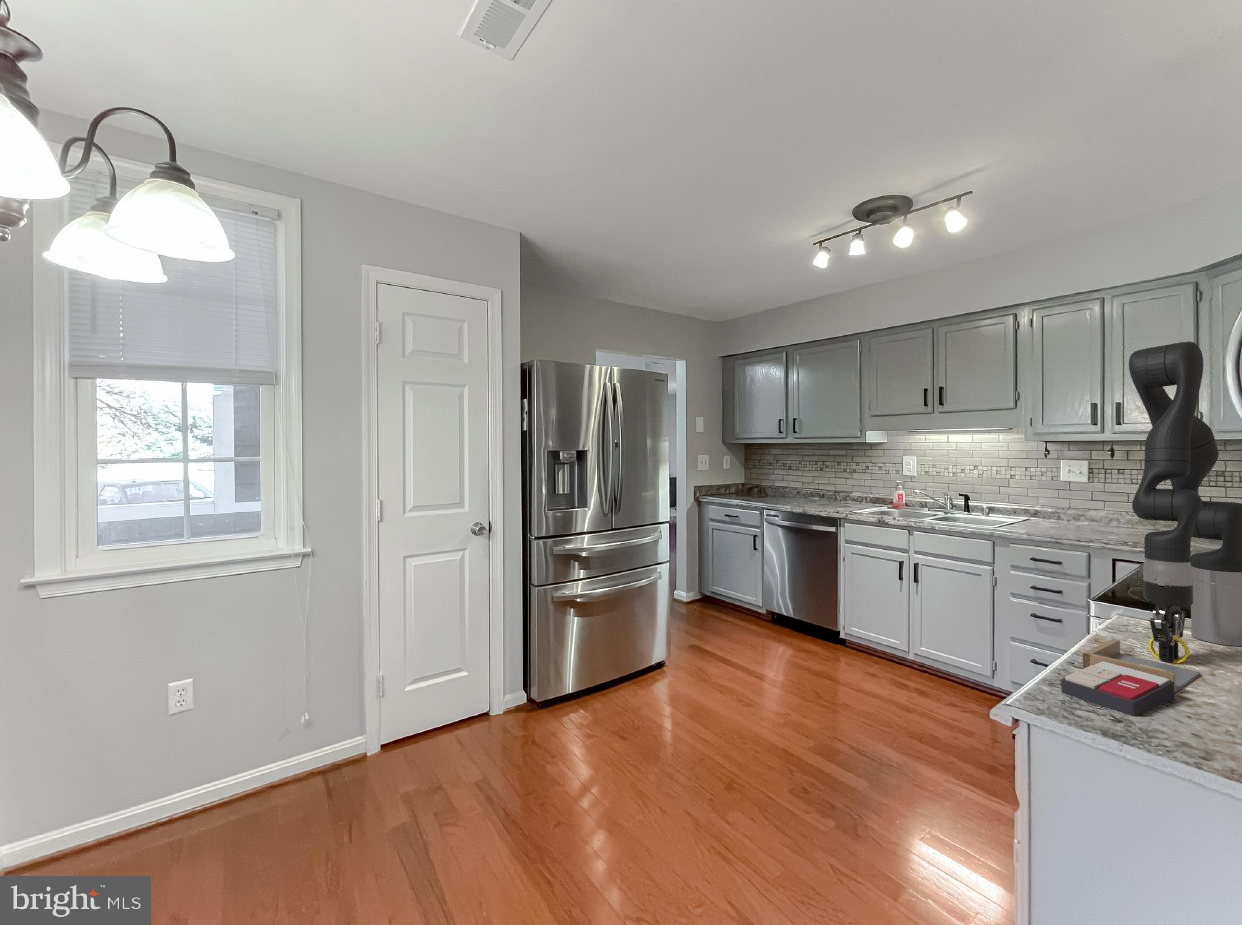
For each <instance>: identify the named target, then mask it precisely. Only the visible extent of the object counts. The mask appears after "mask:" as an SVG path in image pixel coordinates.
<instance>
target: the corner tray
mask: <svg viewBox="0 0 1242 925" xmlns="http://www.w3.org/2000/svg"><path fill="white" fill-rule="evenodd" d="M1102 661H1104V662H1108V663H1111V664H1115V665H1119V666H1123V667H1126V668H1130V669H1134V670H1138V671H1141V672H1145V673H1149V674H1152V675H1156V676H1160V677H1164V678H1167V679H1169V680H1171V681H1173V682H1174V694H1176V693H1177V692H1178V691H1180V690H1181V689H1183V688H1184V687H1186V685H1188V684H1190V683H1191V682H1192V681H1194V680H1195V679H1197V678H1198V677H1200V676H1201V672H1200V671H1198V670H1193V669H1190V668H1189V669H1188V668H1184V667H1180V666H1175V665H1172V664H1169V663H1167V664H1166V663H1162V662H1157V661H1155V660H1149V659H1145V658H1142V657H1138V656H1137V657H1136V656H1131V655H1128V654H1123V653H1121V640H1120V639H1117V638H1111V639H1109V640H1107V641H1105V642H1103V643H1101V644H1098V645H1096V646H1095V647H1092V648H1090V649H1088V650H1085V651H1083V652H1082V669H1084V668H1086V667H1089V666H1091V665H1095V664H1097V663H1100V662H1102Z"/></svg>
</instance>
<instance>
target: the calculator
mask: <svg viewBox="0 0 1242 925" xmlns="http://www.w3.org/2000/svg"><path fill="white" fill-rule="evenodd" d="M1060 683H1061V684H1060V685H1061V693H1062V694H1064V695H1068V696H1070V697H1074V698H1077V699H1079V700H1083V701H1086V702H1087V703H1088V702H1089V703H1091V704H1094V705H1098V706H1100V707H1104V708H1107V709H1109V710H1113V711H1116V712H1119V713H1122V714H1125V715H1128V716H1131V717H1138V716H1140V715H1143V714H1145V713H1147V712H1150V711H1151V710H1153V709H1154V708H1157V707H1159V706H1161V705H1164V704H1167V703H1171V702H1172V701H1173V700H1175V693H1174V682H1173V681H1171V680H1169V679H1167V678H1164V677H1160V676H1156V675H1152V674H1149V673H1145V672H1141V671H1138V670H1134V669H1130V668H1126V667H1123V666H1119V665H1115V664H1111V663H1108V662H1104V661H1102V662H1100V663H1097V664H1095V665H1091V666H1089V667H1086V668H1084V669H1083V668H1082V669H1080V670H1078V671H1074V672H1072V673H1070V674H1068V675H1066V676H1064V677H1063V678H1061V679H1060Z"/></svg>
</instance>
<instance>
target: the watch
mask: <svg viewBox="0 0 1242 925" xmlns="http://www.w3.org/2000/svg"><path fill="white" fill-rule="evenodd" d="M1162 637H1165V636H1164V635H1162ZM1174 640H1176V641H1178V642H1177V643H1178V644H1180V646H1181V647H1183V649H1184V654H1185V655H1184V656H1183V658H1181V659H1179V660H1178V659H1177V660H1174V661H1173V662H1172V664H1173V663H1174V664H1175V665H1176V664H1180V663H1183V662H1185V661H1186V660H1187V658H1188V657H1189V656H1190V649H1189V646H1188V645H1187V644H1186V643H1185V641H1184V640H1183V639H1182V638H1180V639H1179V638H1178V635H1174ZM1154 642H1155V641H1154V638H1153V637H1152V638H1151V639H1150V640H1149V642H1148V648H1149V649H1148V650H1150V652H1151V654H1152V655H1153V657H1155V658H1156V659H1157V660H1160V659H1159V653H1157V651H1156V649H1155V648H1154ZM1160 661H1161V660H1160Z"/></svg>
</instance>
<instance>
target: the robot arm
mask: <svg viewBox="0 0 1242 925" xmlns="http://www.w3.org/2000/svg"><path fill="white" fill-rule="evenodd" d="M1203 371H1204V356H1203V353H1202V350H1201V348H1200V346H1199V345H1198V344H1197V343H1196V342H1194V341H1189V340H1188V341H1181V342H1175V343H1174V342H1173V343H1168V344H1164V345H1158V346H1152V347H1147V348H1141V349H1138V350H1135V351H1133V352H1132V353H1131V354H1130V356H1129V360H1128V372H1129V375H1130V377H1131V381H1132V382H1133V386H1134V387H1135V390H1136V391H1137V394H1138V397H1139V399H1140V400H1141V402H1142V404H1143V406H1144V409H1145V412H1146V413H1147V416H1148V419H1149V421H1150V424H1151V429H1150V430H1149V432H1148V434H1147V436H1146V438H1145V441H1144V442H1145V444H1144V465H1143V474H1142V477H1141V480H1140V483H1139V485H1138V488H1137V490H1136V492H1135V494H1134V497H1133V499H1132V502H1131V505H1132V507H1131V508H1132V511H1133V513H1134V515H1135V516H1137V517H1138V518H1139V519H1141V520H1145V521H1155V522H1156V521H1159V522H1160V521H1161V522H1176V523H1177V524H1176V526H1175V527H1174V528H1172V529H1169V530H1157V531H1155V530H1154V531H1151V532H1147V533H1146V534H1145V535H1144V542H1143V543H1144V560H1143V567H1142V569H1143V570H1142V572H1143V573H1142V575H1143V578H1142V579H1143V581H1142V582H1143V598H1144V600H1146V601H1147V602H1150V603H1153V604H1155V609H1153V610H1152V617H1150V618H1149V625H1150V629H1151V633H1152V638H1154V641H1153V642H1157V644H1158V654H1159V659H1160V661H1162V662H1166V663H1173V661H1174V660H1177V661H1178V659H1179V658H1180V657H1179V656H1180V655H1179V642H1178V641H1176V640H1174V635H1178V638H1179V639H1183V637H1184V629H1185V622H1186V616H1187V613H1186V611H1185V610H1183V611H1182V610H1181V609H1182V608H1181V607H1189V606H1190V624H1191V625H1190V626H1191V627H1190V632H1191V634H1190V635H1191V637H1193V638H1195V639H1198V640H1201V641H1204V642H1208V643H1212V644H1213V643H1214V644H1217V645H1222V646H1223V645H1224V646H1233V647H1242V503H1241V502H1234V501H1215V500H1214V501H1212V500H1211V501H1210V500H1203V499H1202V497H1201V495H1199V488H1200V486H1201V484H1202V483H1203V481H1204V479H1205V478H1206V477H1207V476H1208V475H1209V473H1210V472H1211V471H1212V469H1213V468H1214V466H1215V465H1216V463H1217V462H1218V460H1219V449H1218V444H1217V442H1216V437H1215V435H1214V433H1213V430H1212V428H1211V427H1210V426H1209V425H1208V424H1207V423H1206V422H1205V421H1203V420H1202V419H1201V418H1199V417H1198V416H1196V415H1195V414H1196V411H1197V410H1196V409H1197V404H1198V401H1199V395H1200V390H1201V384H1202V380H1203V373H1204V372H1203ZM1169 386H1170V387H1171V386H1176V389H1175V393H1174V396H1173V399H1172V398H1171V396H1169V394H1168V393H1167V391H1166V389H1165V387H1169ZM1167 481H1170V485H1171V488H1157V487H1158V486H1159V485H1160V484H1161V483H1162V482H1167ZM1192 538H1195V539H1203V540H1212V541H1213V540H1214V541H1222V545H1221V547H1220V548H1217V549H1215V550H1211V551H1205V552H1197V553H1194V554H1191V549H1192V548H1191V546H1192V543H1191V542H1192ZM1162 635H1164V636H1165V637H1162ZM1159 659H1158V660H1159Z"/></svg>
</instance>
